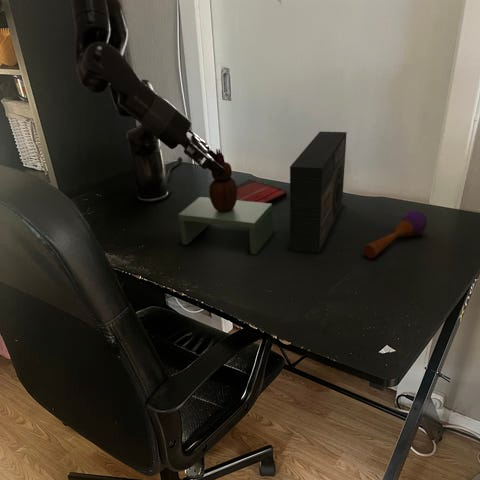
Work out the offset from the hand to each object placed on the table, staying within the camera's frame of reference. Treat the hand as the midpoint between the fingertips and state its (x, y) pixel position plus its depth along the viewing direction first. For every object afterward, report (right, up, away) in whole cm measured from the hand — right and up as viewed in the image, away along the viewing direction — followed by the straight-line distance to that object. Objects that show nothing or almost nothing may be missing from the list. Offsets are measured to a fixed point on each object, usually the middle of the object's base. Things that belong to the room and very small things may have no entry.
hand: (221, 168), depth 113 cm
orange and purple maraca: (+41, -17, +2) cm, 45 cm away
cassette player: (+25, -11, +13) cm, 30 cm away
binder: (+6, 0, +31) cm, 31 cm away
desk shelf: (+1, -15, +10) cm, 18 cm away
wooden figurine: (+1, -8, +6) cm, 10 cm away
